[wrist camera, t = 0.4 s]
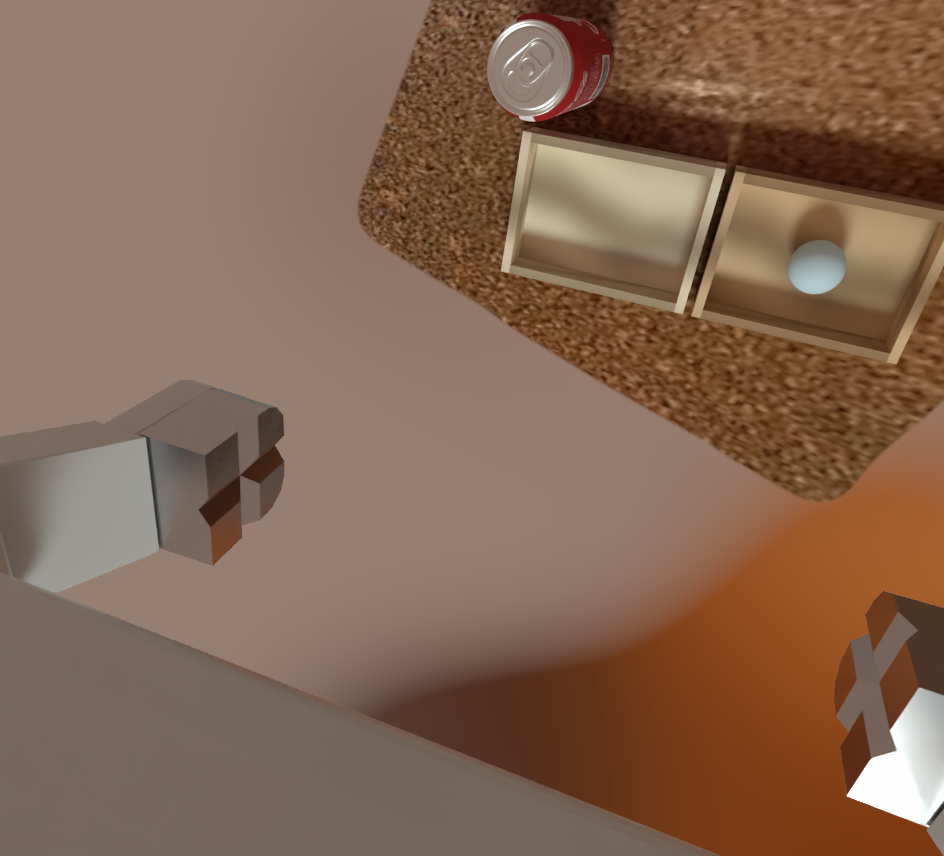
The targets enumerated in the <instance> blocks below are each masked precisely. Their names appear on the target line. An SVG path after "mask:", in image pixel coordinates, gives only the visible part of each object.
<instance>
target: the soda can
mask: <svg viewBox="0 0 944 856" xmlns="http://www.w3.org/2000/svg"><path fill="white" fill-rule="evenodd" d="M612 66H613V55H612V49H611V46H610V43H609V41H608V38H607V37H606V35H605V34H604V32H603V31H602V30H601V29H600V28H599V27H598V26H596V25H595V24H593V23H592V22H590V21H587V20H584V19H578V18H572V17H566V16H559V15H553V14H547V13H529V14H525V15H522V16H520V17H518V18H516V19H514V20H513V21H511V22H510V23H509V24H508V25H507V26H506V27H505V28H504V29H503V30H502V31H501V32H500V34H499V35H498V37H497V38H496V40H495V42H494V44H493V46H492V48H491V51H490V54H489V58H488V64H487V75H488V81H489V85H490V88H491V91H492V93H493V95H494V97H495V98H496V100H497V101H498V102H499V103H500V105H501V106H502V107H503V108H504V109H505V110H506V111H507V112H508V113H510V114H511V115H513V116H515V117H517V118H519V119H522V120H526V121H543V120H547V119H550V118H552V117H555V116H558V115H560V114H563V113H566V112H568V111H571V110H574V109H576V108H579V107H582V106H584V105H587V104H589V103H590V102H592V101H593V100H595V99H596V98H597V97H598V96H599V95H600V94H601V93H602V91H603V90H604V89H605V87H606V85H607V83H608V81H609V79H610V76H611V72H612Z"/></svg>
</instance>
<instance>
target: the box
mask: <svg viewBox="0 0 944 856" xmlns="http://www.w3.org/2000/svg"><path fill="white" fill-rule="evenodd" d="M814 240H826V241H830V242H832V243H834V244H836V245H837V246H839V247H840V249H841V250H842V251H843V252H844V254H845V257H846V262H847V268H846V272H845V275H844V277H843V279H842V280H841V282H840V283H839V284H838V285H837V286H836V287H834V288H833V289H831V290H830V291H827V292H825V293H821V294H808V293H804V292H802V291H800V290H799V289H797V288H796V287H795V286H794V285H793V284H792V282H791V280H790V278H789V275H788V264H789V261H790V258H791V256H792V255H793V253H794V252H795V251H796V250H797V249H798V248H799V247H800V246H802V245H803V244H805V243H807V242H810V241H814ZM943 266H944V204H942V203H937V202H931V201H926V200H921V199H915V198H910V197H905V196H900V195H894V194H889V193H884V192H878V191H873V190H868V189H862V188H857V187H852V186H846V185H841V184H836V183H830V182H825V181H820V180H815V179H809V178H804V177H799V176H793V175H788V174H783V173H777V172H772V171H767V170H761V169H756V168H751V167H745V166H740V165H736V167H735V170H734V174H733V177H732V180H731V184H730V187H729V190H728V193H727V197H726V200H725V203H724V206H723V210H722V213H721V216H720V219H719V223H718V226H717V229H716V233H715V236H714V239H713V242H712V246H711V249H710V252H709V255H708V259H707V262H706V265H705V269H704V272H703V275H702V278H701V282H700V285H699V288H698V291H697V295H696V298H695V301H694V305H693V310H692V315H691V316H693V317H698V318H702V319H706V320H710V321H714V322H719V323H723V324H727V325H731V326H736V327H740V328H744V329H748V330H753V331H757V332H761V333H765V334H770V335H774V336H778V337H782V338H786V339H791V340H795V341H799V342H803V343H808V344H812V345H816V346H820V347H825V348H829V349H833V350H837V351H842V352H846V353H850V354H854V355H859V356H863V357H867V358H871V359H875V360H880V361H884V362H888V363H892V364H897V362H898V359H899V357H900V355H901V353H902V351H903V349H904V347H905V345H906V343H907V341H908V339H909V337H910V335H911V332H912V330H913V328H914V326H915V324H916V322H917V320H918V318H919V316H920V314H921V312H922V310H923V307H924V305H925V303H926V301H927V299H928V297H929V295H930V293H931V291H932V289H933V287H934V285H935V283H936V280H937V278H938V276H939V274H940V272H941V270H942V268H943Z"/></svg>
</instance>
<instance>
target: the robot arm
mask: <svg viewBox="0 0 944 856" xmlns="http://www.w3.org/2000/svg"><path fill="white" fill-rule="evenodd" d="M283 436H284V423H283V414H282V413H281V412H280V411H279V409H278V408H277V407H274V406H270V405H267V404H265V403H261V402H258V401H255V400H252V399H249V398H246V397H243V396H240V395H237V394H234V393H231V392H228V391H225V390H221V389H217V388H215V387H212V386H209V385H205V384H202V383H199V382H195V381H192V380H180V381H178V382H176V383H175V384H173V385H171V386H169V387H167V388H166V389H164V390H162V391H160V392H159V393H157V394H155V395H154V396H152V397H150V398H148V399H147V400H145V401H143V402H141V403H140V404H138V405H136V406H135V407H133V408H131V409H129V410H128V411H126V412H124V413H122V414H121V415H119V416H117V417H116V418H114V419H112V420H110V421H109V422H107V423H105V424H103V423H100V422H97V421H92V422H87V423H80V424H74V425H68V426H62V427H57V428H50V429H45V430H38V431H32V432H26V433H21V434H14V435H8V436H2V437H0V856H720V855H717V854H715V853H712V852H710V851H707V850H704V849H702V848H699V847H697V846H695V845H692V844H690V843H687V842H684V841H682V840H679V839H677V838H674V837H672V836H669V835H667V834H664V833H662V832H659V831H657V830H654V829H652V828H649V827H647V826H644V825H641V824H639V823H637V822H634V821H631V820H629V819H626V818H624V817H621V816H619V815H616V814H614V813H611V812H609V811H606V810H604V809H601V808H598V807H596V806H594V805H591V804H588V803H586V802H584V801H581V800H578V799H576V798H573V797H571V796H568V795H566V794H563V793H561V792H558V791H556V790H553V789H551V788H548V787H546V786H543V785H541V784H538V783H536V782H533V781H531V780H528V779H525V778H523V777H520V776H518V775H515V774H513V773H510V772H508V771H505V770H502V769H500V768H497V767H495V766H492V765H490V764H487V763H485V762H482V761H480V760H477V759H474V758H472V757H469V756H467V755H464V754H462V753H459V752H457V751H454V750H452V749H449V748H447V747H444V746H442V745H439V744H436V743H434V742H431V741H428V740H426V739H424V738H421V737H419V736H416V735H414V734H411V733H408V732H406V731H403V730H400V729H398V728H396V727H393V726H391V725H388V724H386V723H383V722H380V721H378V720H375V719H373V718H370V717H368V716H365V715H363V714H360V713H358V712H355V711H352V710H350V709H347V708H345V707H342V706H340V705H337V704H335V703H332V702H330V701H327V700H325V699H322V698H319V697H317V696H314V695H312V694H309V693H307V692H304V691H301V690H299V689H297V688H294V687H291V686H289V685H286V684H284V683H281V682H279V681H276V680H274V679H271V678H268V677H266V676H264V675H261V674H258V673H256V672H253V671H251V670H248V669H245V668H243V667H241V666H238V665H236V664H233V663H230V662H228V661H225V660H223V659H220V658H218V657H215V656H213V655H210V654H208V653H205V652H203V651H200V650H197V649H195V648H192V647H190V646H187V645H185V644H182V643H180V642H177V641H175V640H172V639H170V638H167V637H165V636H162V635H159V634H157V633H154V632H152V631H149V630H147V629H144V628H142V627H139V626H137V625H134V624H132V623H129V622H126V621H124V620H121V619H119V618H116V617H114V616H111V615H109V614H106V613H104V612H101V611H99V610H96V609H93V608H91V607H88V606H86V605H83V604H81V603H78V602H76V601H73V600H70V599H68V598H66V597H63V596H61V595H58V594H55V593H57V592H59V591H62V590H64V589H67V588H69V587H72V586H74V585H77V584H79V583H82V582H84V581H87V580H89V579H91V578H94V577H96V576H99V575H101V574H104V573H106V572H109V571H111V570H114V569H116V568H118V567H121V566H123V565H126V564H128V563H131V562H133V561H136V560H138V559H141V558H143V557H145V556H148V555H151V554H153V553H156V552H158V551H159V548H161V549H164V550H167V551H170V552H173V553H176V554H179V555H183V556H185V557H188V558H191V559H195V560H197V561H200V562H203V563H207V564H210V565H214V564H215V563H216V562H217V561H218V560H219V559H220V558H221V557H222V556H223V555H224V554H225V553H227V551H229V550H230V549H231V548H232V547H233V546H234V545H235V544H236V543H237V542H238V541H239V540H240V539H241V538H242V525H245V524H248V523H251V522H254V521H258V520H260V519H261V518H263V516H264V515H265V514H266V513H267V512H268V511H269V510H270V509H271V508H272V506H273V505H274V503H275V501H276V499H277V497H278V495H279V493H280V491H281V487H282V482H283V478H284V460H283V458H282V457H281V455H280V453H279V451H278V450H277V448H276V446H275V445H276V444H277V442H278V441H279V440H280V439H281V438H282V437H283ZM866 620H867V625H868V630H869V634H867V635H864V636H862V637H860V638H857V639H855V640H853V641H851V642H850V644H849V645H848V647H847V649H846V651H845V653H844V655H843V657H842V659H841V661H840V664H839V668H838V672H837V676H836V680H835V688H834V689H835V690H834V703H835V712H836V717H837V718H838V719H839V721H840V722H841V723H842V724H843V726H844V727H845V728H846V729H847V731H848V732H849V733H848V734H847V736H846V738H845V739H844V741H843V743H842V745H841V746H840V750H841V757H842V764H843V770H844V777H845V784H846V791H847V796H849V797H852V798H854V799H857V800H860V801H862V802H865V803H867V804H870V805H872V806H875V807H878V808H880V809H883V810H885V811H888V812H890V813H893V814H896V815H898V816H901V817H903V818H906V819H908V820H911V821H914V822H916V823H919V824H921V825H924V826H926V827H929V828H928V829H927V832H928V833H929V834H930V836H931V838H932V839H933V841H934V842H935V844H936V845H937V847H938V848H939V850H940V851H941V852H942V854H943V855H944V608H942V607H938V606H935V605H931V604H928V603H924V602H921V601H917V600H913V599H910V598H906V597H903V596H899V595H896V594H892V593H889V592H885V591H883V592H882V593H881V594H880V595H879V596H878V597H877V598H876V599H875V600H874V601H873V603H872V605H871V606H870V608H869V610H868V612H867V614H866Z"/></svg>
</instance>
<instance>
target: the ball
mask: <svg viewBox="0 0 944 856" xmlns="http://www.w3.org/2000/svg"><path fill="white" fill-rule="evenodd" d="M846 268H847V262H846V257H845V254H844V252H843V251H842V250H841V249H840V247H839V246H837V245H836V244H834V243H832V242H830V241H826V240H814V241H810V242H807V243H805V244H803V245H802V246H800V247H799V248H798V249H797V250H796V251H795V252H794V253H793V255H792V256H791V258H790V261H789V264H788V275H789V278H790V280H791V282H792V284H793V285H794V286H795V287H796V288H797V289H799V290H800V291H802V292H804V293H808V294H821V293H825V292H827V291H830V290H831V289H833V288H834V287H836V286H837V285H838V284H839V283H840V282H841V280H842V279H843V277H844V275H845V272H846Z"/></svg>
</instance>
